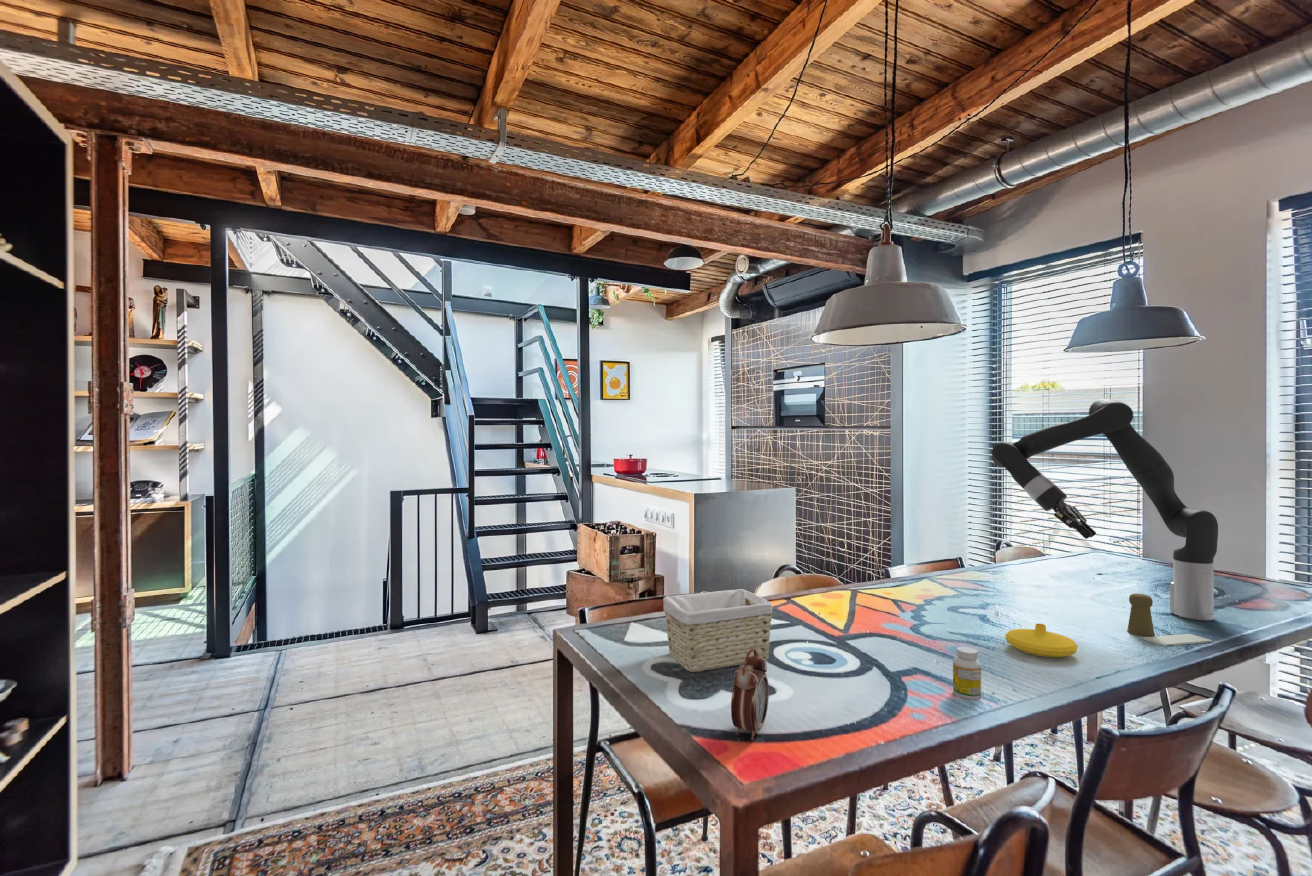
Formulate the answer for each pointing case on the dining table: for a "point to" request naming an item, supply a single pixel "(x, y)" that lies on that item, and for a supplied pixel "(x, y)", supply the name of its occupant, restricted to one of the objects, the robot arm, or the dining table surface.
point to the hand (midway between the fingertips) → (1091, 536)
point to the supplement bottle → (967, 674)
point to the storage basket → (717, 628)
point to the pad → (1177, 639)
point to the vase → (1041, 642)
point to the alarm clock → (750, 694)
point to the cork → (1140, 616)
